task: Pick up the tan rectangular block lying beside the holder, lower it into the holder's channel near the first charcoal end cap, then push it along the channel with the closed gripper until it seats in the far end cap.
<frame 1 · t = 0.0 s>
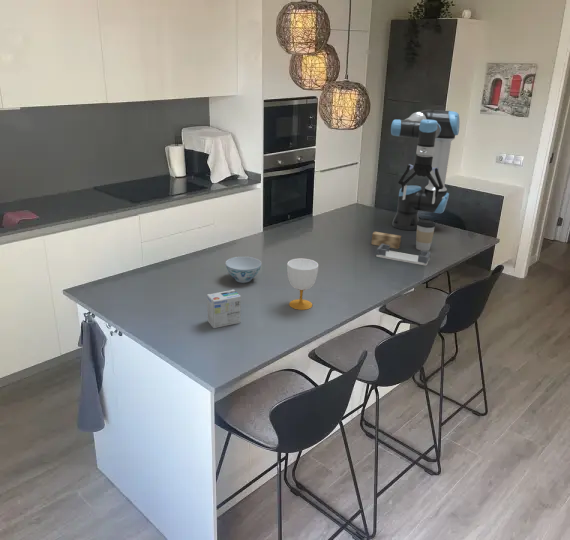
hand: (418, 201, 250), 28 cm above the counter, fingers open, 13 cm apart
coffee cup: (422, 248, 274), on the counter
cup: (300, 305, 208), on the counter
holder: (402, 258, 260), on the counter
chinaware: (243, 280, 229), on the counter
light bulb box: (224, 322, 193), on the counter
tan rectangular block: (385, 245, 276), on the counter
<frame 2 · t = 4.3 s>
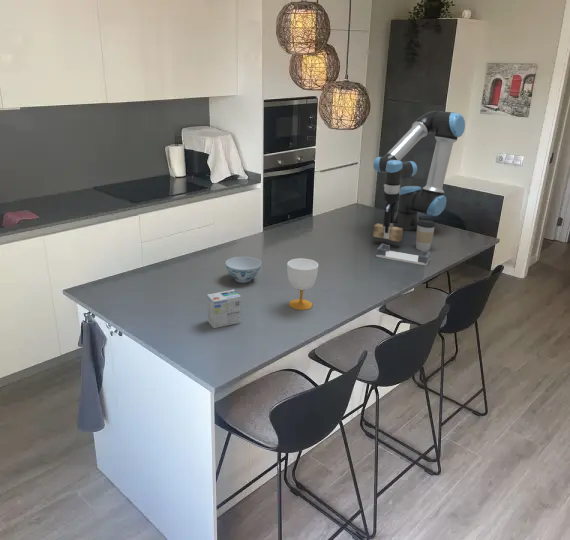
hand: (387, 236, 275), 5 cm above the counter, fingers closed on tan rectangular block, 4 cm apart
tan rectangular block: (387, 237, 275), point 4 cm above the counter, touching gripper
everything else where it was.
when the fingers open (2 cm above the counter, at t = 8.4 s): tan rectangular block stays where it is, resting on holder.
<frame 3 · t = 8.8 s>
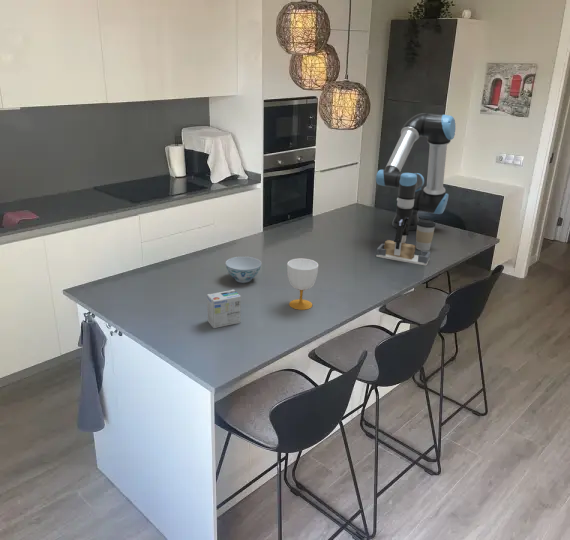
hand: (399, 251, 259), 3 cm above the counter, fingers open, 10 cm apart
tan rectangular block: (398, 255, 260), point 1 cm above the counter, touching holder
everything else where it was.
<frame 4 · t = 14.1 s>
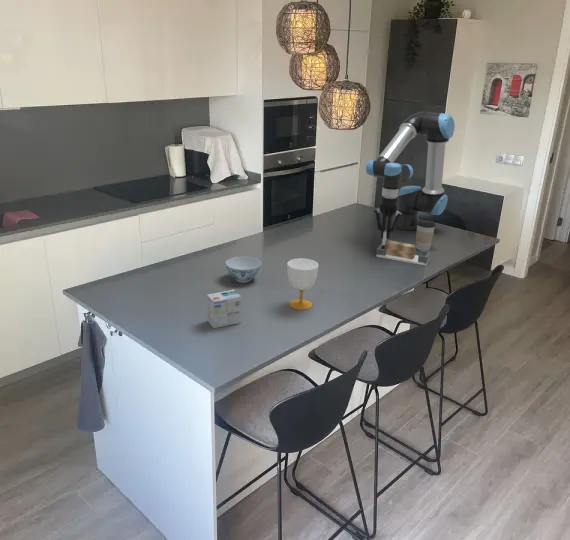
hand: (384, 244, 261), 5 cm above the counter, fingers closed
tan rectangular block: (399, 255, 260), point 1 cm above the counter, touching gripper, holder
everything else where it was.
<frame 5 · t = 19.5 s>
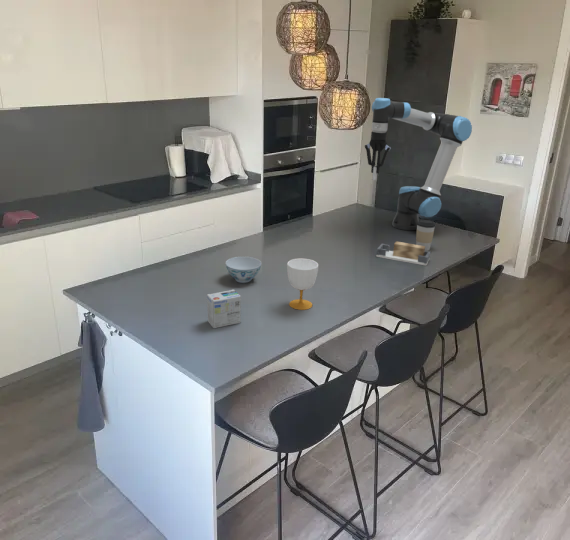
hand: (374, 179, 270), 32 cm above the counter, fingers closed
tan rectangular block: (408, 256, 259), point 1 cm above the counter, touching holder
everything else where it was.
at the end: tan rectangular block 0.8 cm from the target spot on the holder, point 1.0 cm above the holder's base; tan rectangular block tilted 0° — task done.
